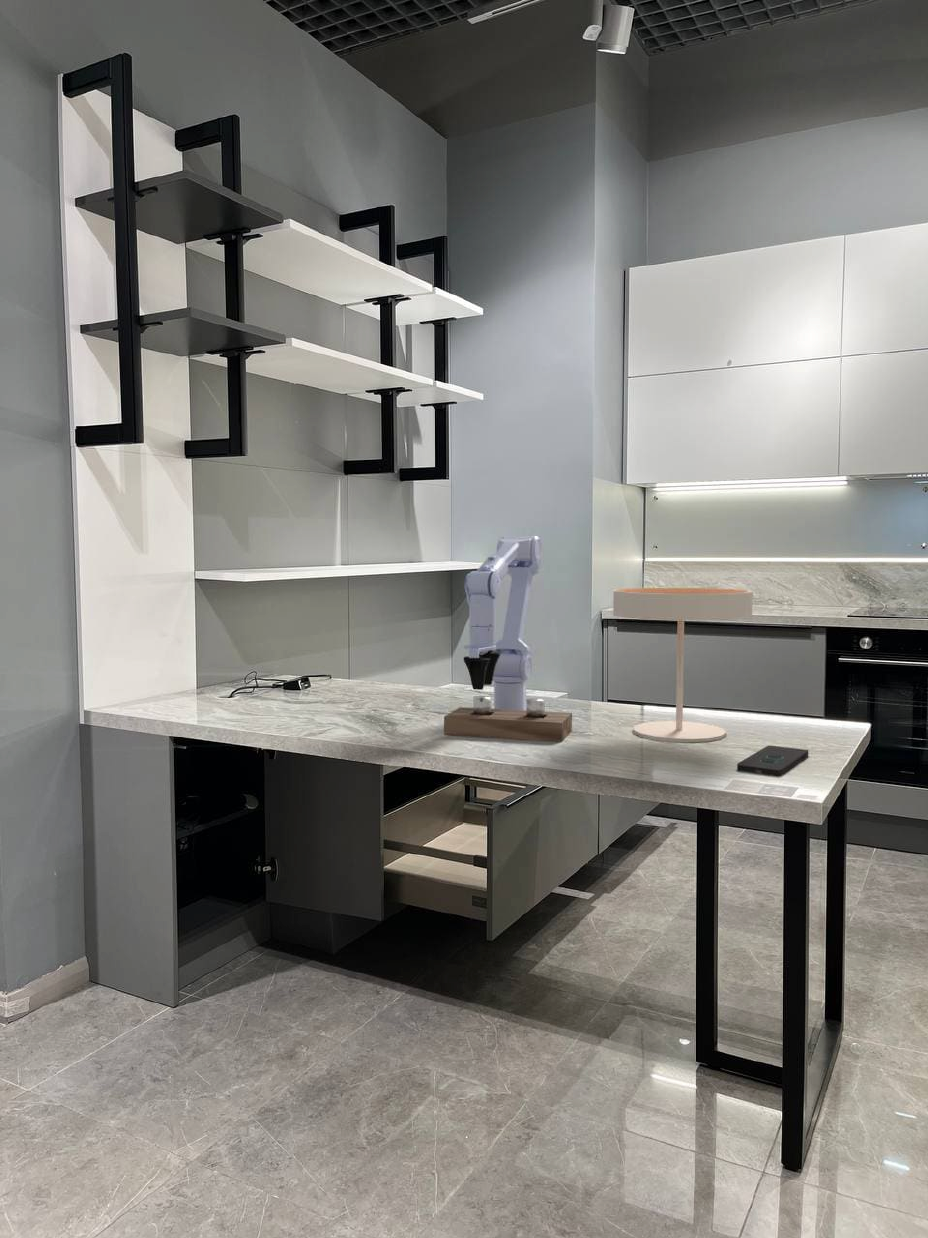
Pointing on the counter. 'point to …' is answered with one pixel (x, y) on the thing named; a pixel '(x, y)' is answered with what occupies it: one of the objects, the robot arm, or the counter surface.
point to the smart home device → (773, 760)
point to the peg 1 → (482, 705)
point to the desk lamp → (681, 641)
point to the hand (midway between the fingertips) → (482, 687)
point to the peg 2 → (535, 708)
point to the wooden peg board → (508, 725)
